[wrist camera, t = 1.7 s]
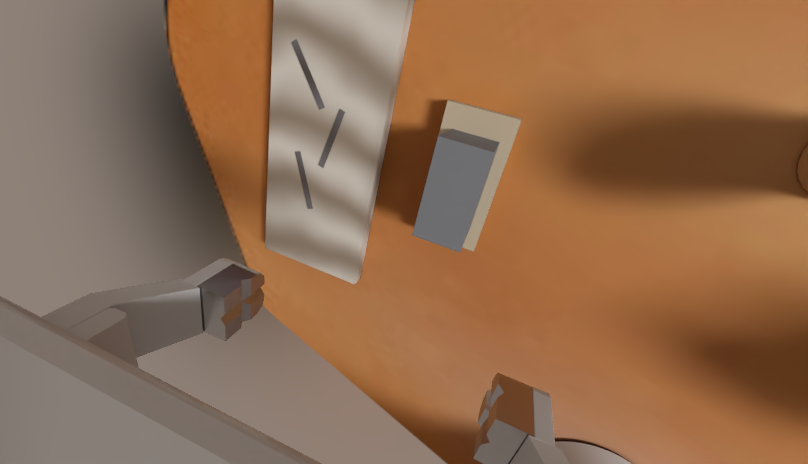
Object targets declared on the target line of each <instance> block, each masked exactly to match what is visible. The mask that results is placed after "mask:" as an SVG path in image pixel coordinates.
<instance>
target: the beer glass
mask: <svg viewBox="0 0 808 464" xmlns="http://www.w3.org/2000/svg"><path fill="white" fill-rule="evenodd" d="M797 175H798V179H799V182H800V184H801V185H802V187H803V188H804V189H805V190H806V191H807V192H808V145H807V146H806V147H805V149H804V151H803V152H802V154H801V156H800V159H799V162H798V167H797Z"/></svg>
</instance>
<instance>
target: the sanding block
mask: <svg viewBox="0 0 808 464" xmlns="http://www.w3.org/2000/svg"><path fill="white" fill-rule="evenodd" d="M521 120H522V118H519V117H515V116H511V115H508V114H504V113H500V112H496V111H492V110H489V109H485V108H481V107H477V106H474V105H470V104H466V103H462V102H459V101H455V100H448V101H447V105H446V108H445V112H444V116H443V120H442V124H441V128H440V131H439V135H438V138H437V142H436V146H435V150H434V154H433V157H432V161H431V165H430V169H429V173H428V177H427V180H426V184H425V188H424V192H423V196H422V200H421V203H420V207H419V211H418V215H417V219H416V223H415V226H414V230H413V234H412V235H413V236H416V237H418V238H421V239H424V240H427V241H430V242H432V243H435V244H438V245H441V246H443V247H446V248H449V249H452V250H454V251H457V252H460V251H461V248H465V249H468V250H471V251H474V249H475V246H476V244H477V241H478V238H479V235H480V233H481V230H482V227H483V224H484V222H485V219H486V216H487V213H488V211H489V208H490V205H491V202H492V200H493V197H494V194H495V191H496V189H497V186H498V183H499V181H500V178H501V175H502V172H503V170H504V167H505V164H506V161H507V159H508V156H509V153H510V150H511V148H512V145H513V142H514V139H515V137H516V134H517V131H518V128H519V126H520V123H521Z"/></svg>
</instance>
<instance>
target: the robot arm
mask: <svg viewBox="0 0 808 464" xmlns="http://www.w3.org/2000/svg"><path fill="white" fill-rule="evenodd" d="M263 285H264V275H262V274H261V273H259V272H257V271H255V270H252V269H250V268H248V267H246V266H243V265H241V264H239V263H236V262H234V261H232V260H229V259H227V258H221V259H219V260H217V261H216V262H214V263H212V264H210V265H209V266H207V267H205V268H203V269H202V270H200V271H198V272H196V273H194V274H193V275H191V276H189V277H188V278H186V279H184V280H181V279H174V280H168V281H162V282H156V283H150V284H144V285H138V286H132V287H126V288H120V289H114V290H108V291H103V292H96V293H90V294H88V295H86V296H84V297H82V298H80V299H78V300H76V301H74V302H71V303H69V304H67V305H65V306H63V307H61V308H59V309H57V310H55V311H53V312H51V313H49V314H47V315H44V316H42V317H40V316H38V315H36V314H34V313H32V312H30V311H28V310H26V309H24V308H22V307H21V306H19V305H17V304H15V303H13V302H11V301H9V300H7V299H5V298H3V297H1V296H0V464H321V463H319V462H317V461H315V460H313V459H311V458H309V457H308V456H306V455H304V454H302V453H300V452H298V451H296V450H294V449H292V448H290V447H288V446H286V445H284V444H283V443H281V442H279V441H277V440H275V439H273V438H271V437H269V436H267V435H265V434H263V433H262V432H260V431H257V430H256V429H254V428H252V427H250V426H248V425H246V424H244V423H242V422H240V421H238V420H237V419H235V418H233V417H231V416H229V415H227V414H225V413H223V412H221V411H219V410H217V409H215V408H214V407H212V406H210V405H208V404H206V403H204V402H202V401H200V400H198V399H196V398H194V397H192V396H191V395H189V394H187V393H185V392H183V391H181V390H179V389H177V388H175V387H173V386H172V385H169V384H168V383H166V382H164V381H162V380H160V379H158V378H156V377H154V376H152V375H150V374H149V373H146V372H145V371H143V370H141V369H139V368H138V364H137V360H136V357H139V356H142V355H145V354H147V353H150V352H153V351H155V350H158V349H161V348H163V347H166V346H169V345H171V344H174V343H177V342H180V341H182V340H185V339H188V338H190V337H193V336H196V335H198V334H201V333H203V331H204V332H206V333H208V334H211V335H213V336H215V337H218V338H220V339H222V340H224V341H226V340H227V339H229V338H230V337H231V336H232V335H233V334H234V333H236V332H237V331H238V330H239V329H240V328H241V324H242V322H243V321H247V320H250V319H252V318H253V317H254V316H255V315H256V314H257V313H258V311H259V310H260V308H261V307H262V304H263V301H264V293H263V291H262V289H261V286H263ZM478 424H479V426H480V430H479V432H478V433H477V435H476V440H475V448H474V456H473V459H475V460H477V461H479V462H481V463H483V464H631V463H630V462H628V461H627V460H625V459H623V458H622V457H620V456H618V455H616V454H614V453H612V452H610V451H607V450H605V449H602V448H599V447H596V446H592V445H588V444H583V443H577V442H566V441H559V442H555V438H554V427H553V416H552V405H551V397H550V395H549V393H546V392H544V391H542V390H539V389H537V388H534V387H530V386H529V385H527V384H524V383H522V382H519V381H517V380H514V379H512V378H509V377H507V376H505V375H502V374H500V373H497V374H496V375H495V377H494V379H493V381H492V388H491V390H488V391H487V392H486V395H485V397H484V399H483V402H482V405H481V408H480V413H479V418H478Z"/></svg>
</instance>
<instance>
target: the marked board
mask: <svg viewBox="0 0 808 464" xmlns="http://www.w3.org/2000/svg"><path fill="white" fill-rule="evenodd" d="M414 2H415V0H274V8H273V36H272V64H271V93H270V121H269V150H268V178H267V206H266V235H265V248H267V249H269V250H272V251H274V252H277V253H279V254H282V255H284V256H287V257H289V258H291V259H294V260H296V261H299V262H301V263H304V264H306V265H309V266H311V267H313V268H316V269H318V270H321V271H323V272H326V273H328V274H331V275H333V276H335V277H338V278H340V279H343V280H345V281H348V282H350V283H352V284H355V283H356V282H357V281H358V280H359V279H360V278H361V273H362V267H363V262H364V257H365V252H366V247H367V242H368V237H369V232H370V227H371V221H372V216H373V211H374V206H375V201H376V196H377V191H378V186H379V181H380V175H381V170H382V165H383V160H384V155H385V150H386V145H387V140H388V135H389V129H390V124H391V119H392V114H393V109H394V104H395V99H396V94H397V89H398V84H399V78H400V73H401V68H402V63H403V58H404V53H405V48H406V43H407V38H408V32H409V27H410V22H411V17H412V12H413V7H414Z"/></svg>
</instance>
